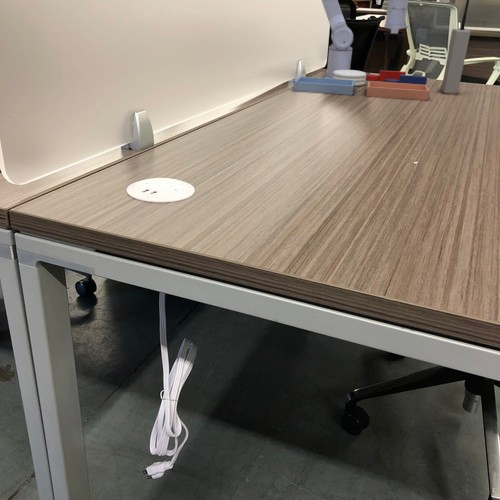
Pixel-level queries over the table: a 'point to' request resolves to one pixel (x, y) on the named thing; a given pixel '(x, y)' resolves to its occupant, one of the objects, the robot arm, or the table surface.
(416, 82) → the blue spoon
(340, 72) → the coaster
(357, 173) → the table surface
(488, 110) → the table surface
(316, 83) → the blue bin
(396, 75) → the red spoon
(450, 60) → the vintage mobile phone
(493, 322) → the table surface
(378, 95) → the red bin
